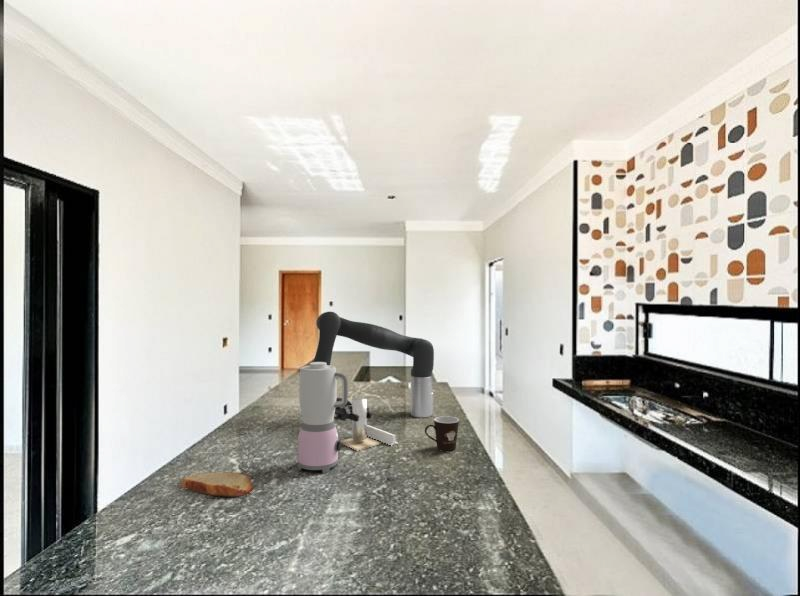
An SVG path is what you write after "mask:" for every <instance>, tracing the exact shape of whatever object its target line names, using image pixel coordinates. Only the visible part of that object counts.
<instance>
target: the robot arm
mask: <svg viewBox="0 0 800 596" xmlns="http://www.w3.org/2000/svg"><path fill="white" fill-rule="evenodd" d="M316 327H317V329H318V330H319V332H318V334H319V335H318V336H319V337H318V344H317V349H316V351H315V352H316V353H315V355H314V359H313V362H326V363H327V365H331V361H332V354H333V349H334V347H335V341H336V338H337V337H344V338H347V339H350V340H352V341H355V342H357V343H360V344H362V345H366V346H368V347H372V348H376V349H378V350H385V351H394V352H399V353H402V354H405V355H408V356H410V357H412V360H413V361H412V362H413V363H412V368H411V369H410V415H411V416H412V417H415V418H428V417H432V416H433V415H434V392H433V370H434V364H435V363H434V362H435V361H434V360H435V359H434V358H435V349H434V345H433V343H431V342H430V341H429V340H427V339H425V338H419V337H412V336H408V335H403V334H400V333H398V332H396V331H394V330H391V329H389V328H386V327H383V326H381V325H376V324H373V323H366V322H360V321H353V320H349V319H347V318H346V319H345V318H344V317H340V316H339V314H337V312H334V311H325V312H323V313H321V314H319V315H318V317H317V319H316ZM338 401H342V397H339V396H337V400H336V402H338ZM411 416H410V417H411ZM369 419H372V412H370V408H369V407H367V420H369ZM334 420H339V421H343V422H344V421H346V420H347V421H352V420H353V421H355V422H357V421H358V415H356V414H353V413H352V402H351V401H350V400H347V404H346V405H345V406H342V407H335V414H334Z"/></svg>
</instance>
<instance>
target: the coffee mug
mask: <svg viewBox="0 0 800 596" xmlns="http://www.w3.org/2000/svg"><path fill="white" fill-rule="evenodd" d="M433 421H434V422H433V423H434V425H433V424H429V425H427V426H425V428H424V434H425V435H426V436H427V438H429V439H430V440H432V441H433V442H434V441H435V443H436V449H437V448H438V449H439V450H438V449H437V450H438V451H440V450H442V451H441V452H443V451H451V452H454V451H456V450H457V441H458V433H459V432H458V431H459V425H460V423H459V422H460V419H459V418H458V417H455V416H454V417H453V416H448V415H447V416H443V415H441V416H437V417H434V419H433ZM431 427H432V428H433V429H434V433H435V438H433V437H432V436H430V435H429V434H428V433H427V430H428V428H431ZM455 449H456V450H455ZM453 450H454V451H453Z"/></svg>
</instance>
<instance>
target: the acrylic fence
mask: <svg viewBox="0 0 800 596" xmlns="http://www.w3.org/2000/svg"><path fill="white" fill-rule="evenodd" d="M367 436H368V437H367V438H369V437H371V438H370V439H372V438H373V439H372V440H374V439H376V440H375V441H377V440H379V441H381V442H380V443H382V442H383V443H382V444H384V443H386V444H385V445H387V444H388V445H387V446H389V445H391V446H390V447H393V446H392V445H394V446H396V445H395V444H399V442H398V441H397V439H396V434H393V433H391V432H388V431H385V430H383V429H380V428H377V427H374V426H372V425H369V424H367ZM379 441H378V442H379Z"/></svg>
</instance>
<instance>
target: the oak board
mask: <svg viewBox="0 0 800 596" xmlns="http://www.w3.org/2000/svg"><path fill="white" fill-rule="evenodd" d="M339 441H340V442H341V443H342V444H343V445H342V446H344V445H345V447H346V446H347V447H346V448H349V447H350V448H349V449H351V448H352V449H351V450H353V449H354V451H355V450H356V452H359V450H360V451H363V450H362V449H364V450H367V449H366V448H368V449H370V448H369V447H371V448H373V447H372V446H375V445H379V444H380V445H381V442H379V441H377V440H374V439H372V438H369V437H367V439H366V440H362V441H357V440H353V439H352V437H350V438H346V439H345V438H344V439H341V440H339ZM380 445H379V446H380ZM375 447H376V446H375Z"/></svg>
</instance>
